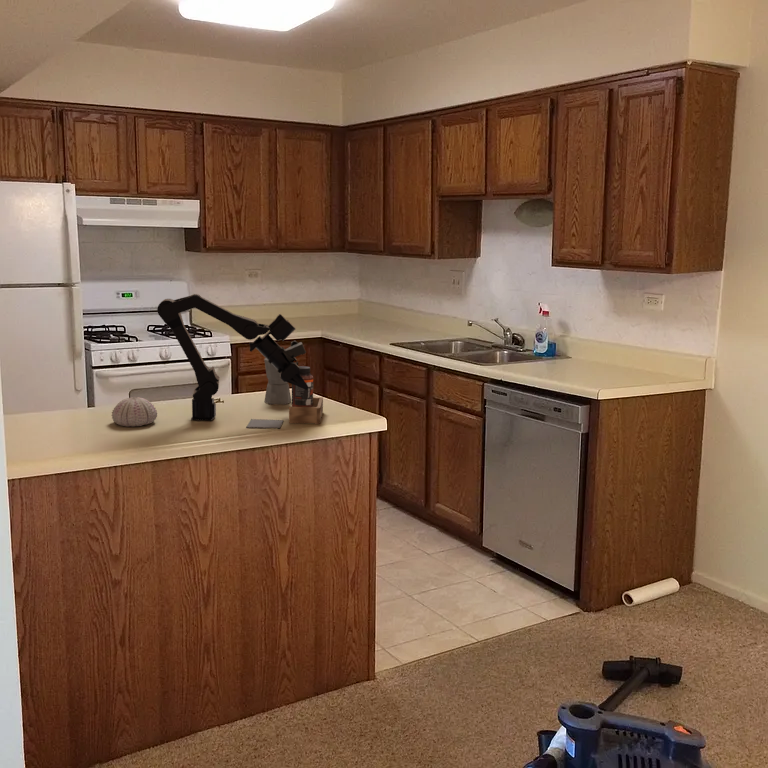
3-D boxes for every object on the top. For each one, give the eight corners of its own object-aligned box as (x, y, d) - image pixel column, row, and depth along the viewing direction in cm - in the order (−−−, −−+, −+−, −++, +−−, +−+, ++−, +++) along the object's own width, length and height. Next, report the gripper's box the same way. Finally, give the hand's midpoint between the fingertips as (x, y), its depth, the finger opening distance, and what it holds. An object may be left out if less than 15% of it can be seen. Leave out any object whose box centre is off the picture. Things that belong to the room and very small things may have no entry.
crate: (289, 423, 257) (289, 407, 256) (293, 411, 273) (293, 396, 272) (319, 423, 257) (320, 408, 256) (322, 412, 273) (323, 397, 272)
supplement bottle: (314, 409, 262) (315, 369, 260) (293, 409, 260) (294, 369, 258) (310, 404, 269) (311, 365, 266) (289, 405, 267) (290, 365, 264)
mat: (246, 428, 249) (246, 426, 249) (251, 420, 259) (251, 419, 259) (279, 428, 250) (279, 427, 250) (283, 421, 260) (283, 419, 259)
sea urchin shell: (113, 430, 243) (112, 403, 242) (110, 419, 255) (109, 394, 254) (160, 427, 248) (159, 401, 246) (154, 417, 260) (154, 392, 259)
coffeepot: (294, 405, 282) (295, 353, 278) (266, 406, 279) (266, 353, 276) (287, 396, 296) (287, 346, 293) (261, 397, 294) (261, 346, 291)
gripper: (292, 337, 250) (328, 374, 254) (289, 329, 268) (323, 364, 272) (265, 363, 251) (301, 399, 254) (264, 353, 269) (298, 387, 272)
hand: (307, 386), depth 263 cm, fingers closed on supplement bottle, 7 cm apart
